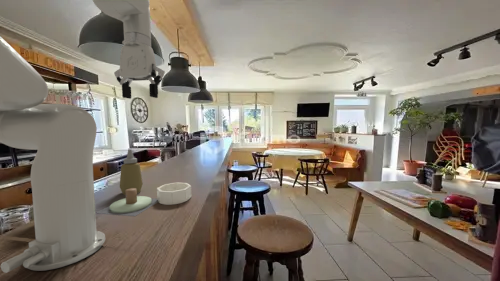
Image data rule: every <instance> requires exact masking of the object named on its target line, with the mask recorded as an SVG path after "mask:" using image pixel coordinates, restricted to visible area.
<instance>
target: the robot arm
mask: <svg viewBox="0 0 500 281" xmlns="http://www.w3.org/2000/svg"><path fill="white" fill-rule="evenodd" d="M92 2H93V4H94V6H95V7H97V9H98V10H99V11H100V12H102V13H104V15H106V16H109V17H111V18H113V19H116V20H119V21H121V22H122V23H123V24H122V25H123V40H122V42H121V44H122V45H121V46H122V47H121V49H120V57H119V58H120V59H119V69H116V71H114V76H115V78H116V81H117V82H118V83H119V85H121V90H122V91H121V94H122V95H121V96H122V98H125V99H132V87H131V86H130V85H131V83H132V82H133V81H134V82H136V81H139V82H140V81H148V82H150V83H149V85H148V86H149V87H148V88H149V97H151V98H154V99H157V98H158V97H159V96H158V95H159V86H160V84H161V82H162V81H163V79H164V78H163V77H164V75H165V73H166V72H165V70H164V69H162V68H160V67H158V66H157V63H156V57H155V52H154V50H153V48H152V31H151V30H152V28H151V10H150V2H151V1H150V0H92ZM48 96H49V88H48V84H47V82H46V81H45V79H44V78H43V76H41V74H40V73H39V72H38V71H37V70H36V69H35V68H34V67H33V66H32V65H31V64H30V63H29V62H28V61H27V60H26V59H25V58H24V57H23V56H22V55H21V54H19V52H17V50H16V49H15V48H13V46H11V44H9V43H8V42H7V41H6V40H5V39H4V38H3V37H2V36H1V35H0V143H1V144H3V145H5V146H8V147H10V148H15V149H19V150H30V151H31V150H33V151H34V150H35V151H36V150H37V152H36V153H35V156H34V159H33V162H32V164H31V169H30V185H31V192H32V193H31V194H32V196H31V197H32V207H33V221H34V233H35V235H34V237H35V239H34V240H31V241H29V242H28V248H27V249H25V250H23V252H22V253H20V254H18V255H15V256H13V257H11V258H9V259H7V260H5V261H2V263H1V264H0V269H1V271H2V272H3V273H5V274H6V273H10V272H11V271H13V270H15V269H16V268H18V267H20V266H22V267H24V268H25V269H28V270H31V271H35V272H37V271H38V272H39V271H41V272H42V271H49V270H51V271H52V270H55V269H59V268H63V267H67V266H69V265H72V264H75V263H77V262H79V261H82V260H84V259H85V258H88V257H89V256H91V255H93V254H94V253H96V252H97V251H99V249H100V248H102V247H103V244H104V243H105V241H106V234H105V233H104V232H103V231H99V230H97V220H96V219H97V215H96V214H97V213H95V212H96V201H95V200H96V199H95V196H96V195H95V183H94V182H95V181H94V161H93V160H94V148H95V142H96V137H97V132H98V131H97V127H98V126H97V124H96V123H97V122H96V121H95V119H94V117H93V116H92V115H91V113H90V112H88V111H87V110H86V109H84V108H82V107H80V106H77V105H71V104H65V103H64V104H63V103H47V104H46V103H44V102H45V101H46V100H47V98H48Z"/></svg>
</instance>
